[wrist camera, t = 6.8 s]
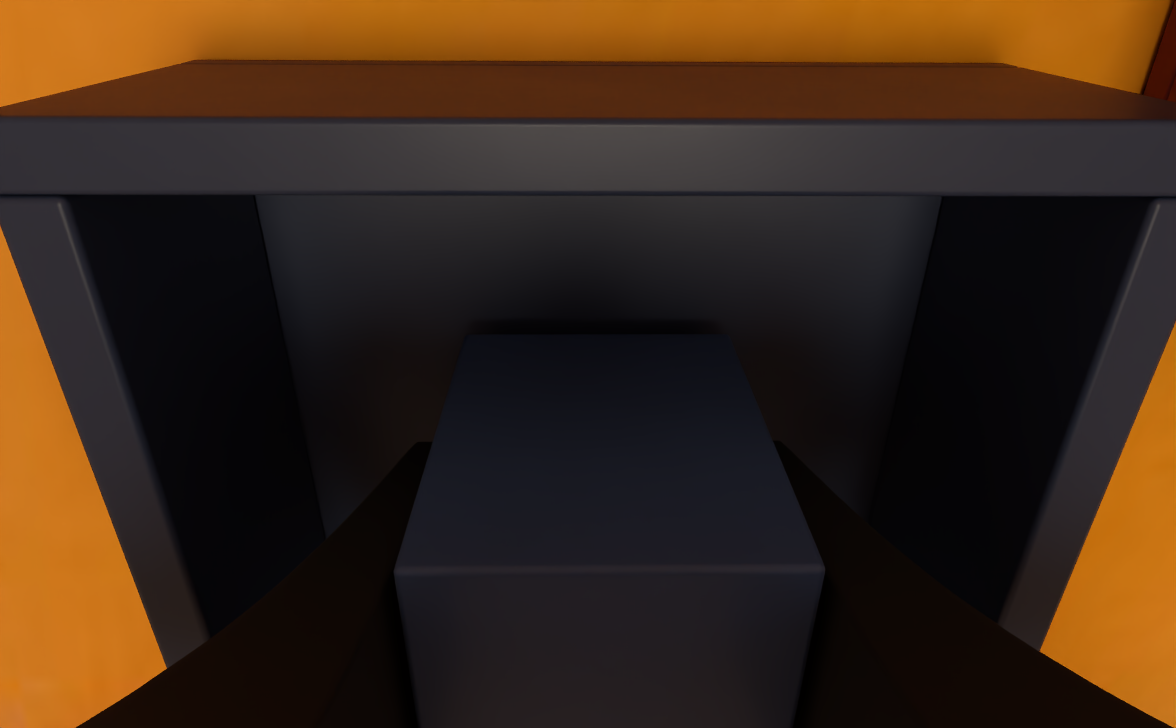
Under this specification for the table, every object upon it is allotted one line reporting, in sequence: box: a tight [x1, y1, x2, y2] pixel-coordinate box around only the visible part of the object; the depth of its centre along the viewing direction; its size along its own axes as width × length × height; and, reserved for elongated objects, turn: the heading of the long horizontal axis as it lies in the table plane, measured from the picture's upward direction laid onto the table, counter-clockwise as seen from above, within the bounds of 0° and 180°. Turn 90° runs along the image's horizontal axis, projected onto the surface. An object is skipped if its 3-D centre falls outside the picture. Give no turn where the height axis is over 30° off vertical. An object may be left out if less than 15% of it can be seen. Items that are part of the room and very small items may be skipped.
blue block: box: [393, 334, 825, 728], centre depth 10 cm, size 4×4×5 cm
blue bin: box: [0, 60, 1176, 668], centre depth 11 cm, size 11×11×4 cm
